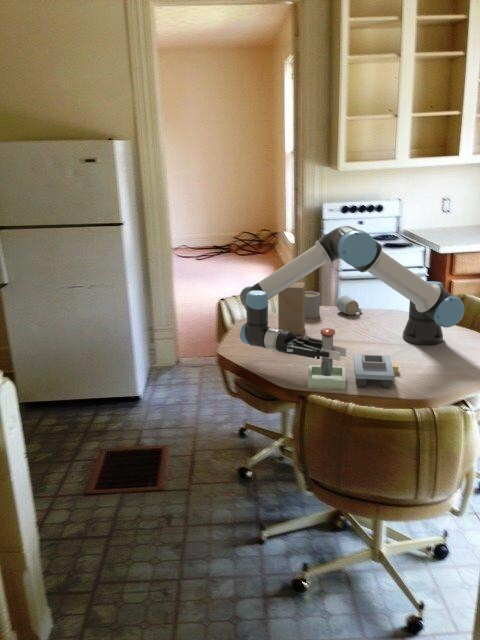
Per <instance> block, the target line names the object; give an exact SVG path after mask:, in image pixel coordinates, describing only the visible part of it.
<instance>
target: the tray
mask: <svg viewBox="0 0 480 640" xmlns="http://www.w3.org/2000/svg"><path fill="white" fill-rule="evenodd" d="M307 371H308V373H307V388H308V389H324V390H325V389H327V390H345V391H346V385H347V383H346V381H347V378H346V377H347V376H346V366H339V365H336V366H335V365H332V375H331V376H323V375H321V365H315V364H313V365H311V364H309V365H308V370H307Z"/></svg>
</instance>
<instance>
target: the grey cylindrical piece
mask: <svg viewBox="0 0 480 640" xmlns="http://www.w3.org/2000/svg"><path fill="white" fill-rule="evenodd" d="M320 295H321V294H320V292H317V291H311V290H305V319H315V318H318V317H320V307H321V306H320V304H321V302H320V300H321V296H320Z"/></svg>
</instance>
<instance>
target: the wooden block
mask: <svg viewBox="0 0 480 640" xmlns="http://www.w3.org/2000/svg"><path fill="white" fill-rule="evenodd" d="M305 291H306V282H304V281H297V282H295V283H294V284H292V285H291V286H289V287H288V288H286V289H285V290H283V291H281V292H280V293H278V294H277V296H278V297H277V299H278V300H277V301H278V303H277V305H278V306H277V310H278V311H277V312H278V314H277V316H278V317H277V318H278V321H277V323H278V324H277V327H278V328H277V329H281V330H285V331H290V332H293V333H294V335H295V336H302V335H304V334H303V333H304V332H305V331H304V330H305V325H306V324H305V321H306V318H305Z"/></svg>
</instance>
